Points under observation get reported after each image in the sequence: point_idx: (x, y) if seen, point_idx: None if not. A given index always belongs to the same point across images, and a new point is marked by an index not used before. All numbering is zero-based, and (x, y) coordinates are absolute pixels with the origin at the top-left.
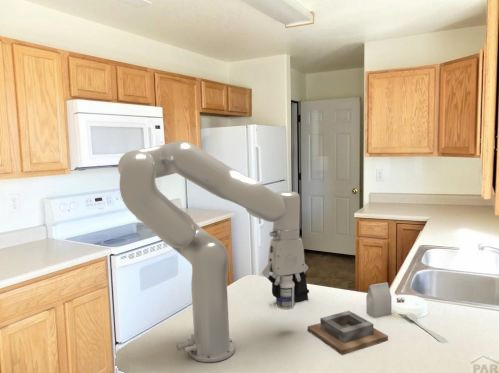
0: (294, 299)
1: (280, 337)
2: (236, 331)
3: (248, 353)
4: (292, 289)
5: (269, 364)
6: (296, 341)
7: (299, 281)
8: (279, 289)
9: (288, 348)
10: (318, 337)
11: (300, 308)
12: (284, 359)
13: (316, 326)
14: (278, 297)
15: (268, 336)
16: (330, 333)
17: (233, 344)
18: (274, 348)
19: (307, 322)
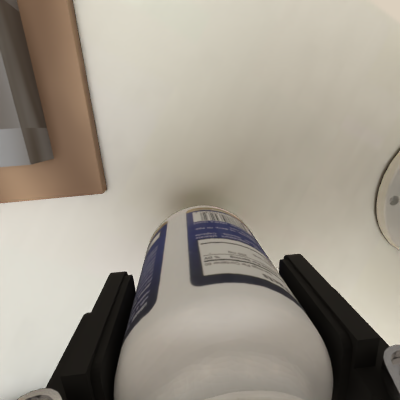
0: (154, 245)
1: (223, 181)
2: (325, 272)
3: (365, 127)
4: (183, 277)
5: (347, 21)
6: (185, 129)
7: (34, 390)
8: (329, 299)
9: (236, 94)
10: (92, 114)
11: (57, 350)
12: (287, 25)
13: (66, 177)
14: (299, 255)
15: (256, 204)
16: (33, 81)
17: (397, 178)
18: (279, 118)
19: (79, 246)
